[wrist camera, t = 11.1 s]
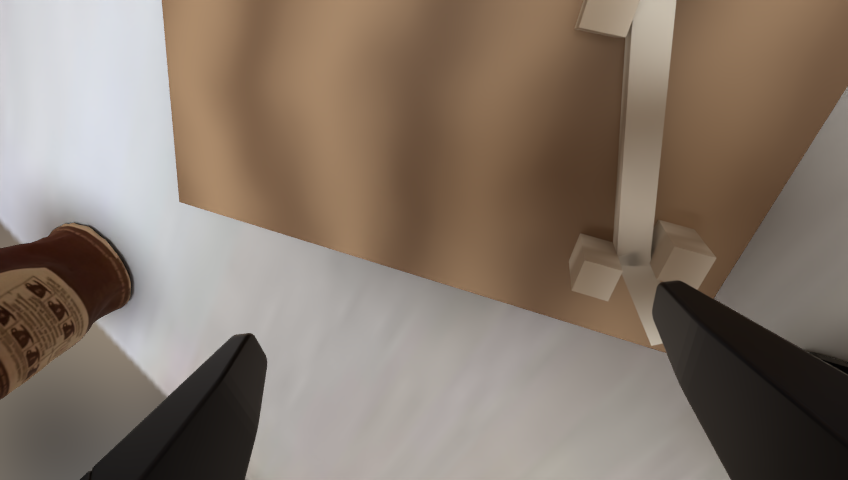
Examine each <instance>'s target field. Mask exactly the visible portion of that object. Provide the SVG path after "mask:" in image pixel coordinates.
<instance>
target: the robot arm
mask: <svg viewBox="0 0 848 480" xmlns="http://www.w3.org/2000/svg"><path fill="white" fill-rule="evenodd" d="M652 317H653V320H654V323H655V325H656V328H657V330H658V333H659V335H660V338H661V340H662V343H663V345H664V348H665V350H666V353H667V355H668V358H669V360H670V363H671V365H672V367H673V370H674V372H675V375H676V377H677V379H678V382H679V384H680V386H681V388H682V390H683V392H684V394H685V396H686V398H687V400H688V401H689V403H690V405H691V407H692V409H693V411H694V412H695V414H696V416H697V418H698V420H699V422H700V423H701V425H702V427H703V429H704V431H705V433H706V435H707V436H708V438H709V440H710V442H711V444H712V446H713V447H714V449H715V451H716V453H717V455H718V457H719V458H720V460H721V462H722V464H723V466H724V468H725V469H726V471H727V473H728V475H729V477H730V479H731V480H848V363H847V362H844V361H841V360H837V359H834V358H831V357H827V356H824V355H820V354H817V353H811V352H810V353H808V352H807V351H805V350H803V349H801V348H800V347H798V346H796V345H794V344H792V343H791V342H789V341H787V340H785V339H784V338H782V337H780V336H778V335H777V334H775V333H773V332H771V331H769V330H768V329H766V328H764V327H762V326H761V325H759V324H757V323H755V322H753V321H752V320H750V319H748V318H746V317H745V316H743V315H741V314H739V313H738V312H736V311H734V310H732V309H730V308H729V307H727V306H725V305H723V304H722V303H720V302H718V301H716V300H715V299H713V298H711V297H709V296H707V295H706V294H704V293H702V292H700V291H699V290H697V289H695V288H693V287H692V286H690V285H688V284H686V283H684V282H682V281H680V280H674V281H666V282H661V283H659V284H658V285H657V288H656V293H655V297H654V302H653V307H652ZM266 370H267V358H266V355H265V353H264V352H263V350H262V348H261V346H260V345H259V343H258V341H257V339H256V338H255V336H254V335H253V334H251V333H246V334H238V335H234V336H232V337H231V338H230V339H229V340H228V341H227V342H226V343H225V344H223V345H222V346H221V347H220V348H219V349H218V350H217V351H216V352H215V353H214V354H213V355H212V356H211V357H210V358H209V359H208V360H206V361H205V362H204V363H203V364H202V365H201V366H200V367H199V368H198V369H197V370H196V371H195V372H194V373H193V374H192V375H191V376H189V377H188V378H187V379H186V380H185V381H184V382H183V383H182V384H181V385H180V386H179V387H178V388H177V389H176V390H175V391H174V392H172V393H171V394H170V395H169V396H168V397H167V398H166V399H165V400H164V401H163V402H162V403H161V404H160V405H159V406H158V407H157V408H155V409H154V410H153V411H152V412H151V413H150V414H149V415H148V416H147V417H146V418H145V419H144V420H143V421H142V422H141V423H140V424H139V425H138V426H136V427H135V428H134V429H133V430H132V431H131V432H130V433H129V434H128V435H127V436H126V437H125V438H124V439H123V440H122V441H120V442H119V443H118V444H117V445H116V446H115V447H114V448H113V449H112V450H111V451H110V452H109V453H108V454H107V455H106V456H104V457H103V458H102V459H101V460H100V461H99V462H98V463H97V464H96V465H95V466H94V467H93V469H92V471H88V472H87V473H86V474H85V475H84V476H83V477H82V478H81V479H80V480H245V476H246V472H247V469H248V465H249V461H250V457H251V453H252V449H253V445H254V441H255V437H256V433H257V429H258V423H259V417H260V411H261V404H262V397H263V390H264V383H265V377H266Z"/></svg>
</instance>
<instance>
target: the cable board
mask: <svg viewBox="0 0 848 480" xmlns="http://www.w3.org/2000/svg"><path fill="white" fill-rule="evenodd" d="M162 8H163V19H164V31H165V42H166V54H167V65H168V76H169V88H170V99H171V111H172V122H173V133H174V145H175V156H176V168H177V179H178V191H179V202H182V203H185V204H188V205H191V206H194V207H198V208H201V209H204V210H207V211H211V212H214V213H217V214H220V215H223V216H227V217H230V218H233V219H236V220H240V221H243V222H246V223H249V224H252V225H256V226H259V227H262V228H265V229H269V230H272V231H275V232H278V233H281V234H285V235H288V236H291V237H294V238H298V239H301V240H304V241H307V242H310V243H314V244H317V245H320V246H323V247H327V248H330V249H333V250H336V251H340V252H343V253H346V254H349V255H352V256H356V257H359V258H362V259H365V260H369V261H372V262H375V263H378V264H381V265H385V266H388V267H391V268H394V269H398V270H401V271H404V272H407V273H410V274H414V275H417V276H420V277H423V278H427V279H430V280H433V281H436V282H439V283H443V284H446V285H449V286H452V287H456V288H459V289H462V290H465V291H468V292H472V293H475V294H478V295H481V296H485V297H488V298H491V299H494V300H497V301H501V302H504V303H507V304H510V305H514V306H517V307H520V308H523V309H526V310H530V311H533V312H536V313H539V314H543V315H546V316H549V317H552V318H556V319H559V320H562V321H565V322H568V323H572V324H575V325H578V326H581V327H585V328H588V329H591V330H594V331H597V332H601V333H604V334H607V335H610V336H614V337H617V338H620V339H623V340H626V341H630V342H633V343H636V344H639V345H643V346H646V347H649V348H652V349H655V350H659V351H662V352H665V353H666V350H665V348H664V345H663V343H662V340H661V338H660V335H659V333H658V330H657V328H656V325H655V323H654V320H653V317H652V307H653V302H654V297H655V293H656V288H657V285H658V284H659V283H661V282H666V281H674V280H680V281H682V282H684V283H686V284H688V285H690V286H692V287H693V288H695V289H697V290H699V291H700V292H702V293H704V294H706V295H707V296H709V297H711V298H713V299H714V297H715V295H716V294H717V292H718V291H719V289H720V287H721V286H722V284H723V283H724V281H725V279H726V278H727V276H728V275H729V273H730V272H731V270H732V268H733V267H734V265H735V264H736V262H737V260H738V259H739V257H740V256H741V254H742V253H743V251H744V249H745V248H746V246H747V245H748V243H749V241H750V240H751V238H752V237H753V235H754V233H755V232H756V230H757V229H758V227H759V226H760V224H761V222H762V221H763V219H764V218H765V216H766V214H767V213H768V211H769V210H770V208H771V206H772V205H773V203H774V202H775V200H776V199H777V197H778V195H779V194H780V192H781V191H782V189H783V187H784V186H785V184H786V183H787V181H788V180H789V178H790V176H791V175H792V173H793V172H794V170H795V168H796V167H797V165H798V164H799V162H800V160H801V159H802V157H803V156H804V154H805V153H806V151H807V149H808V148H809V146H810V145H811V143H812V141H813V140H814V138H815V137H816V135H817V134H818V132H819V130H820V129H821V127H822V126H823V124H824V122H825V121H826V119H827V118H828V116H829V114H830V113H831V111H832V110H833V108H834V107H835V105H836V103H837V102H838V100H839V99H840V97H841V95H842V94H843V92H844V91H845V89H846V87H847V86H848V0H162Z"/></svg>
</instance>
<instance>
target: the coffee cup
mask: <svg viewBox="0 0 848 480" xmlns="http://www.w3.org/2000/svg"><path fill="white" fill-rule="evenodd" d="M130 294H131V282H130V278H129V275H128V273H127V271H126V268H125V266H124V264H123V263H122V261H121V259H120V258H119V256H118V255H117V254H116V252H115V251H114V250H113V249H112V247H111V246H110V245H109V243H108V242H107V241H106V240H105V239H103V238H102V237H101V236H99V235H98V234H97V233H96V232H95V231H94V230H93V229H91V228H90V227H88V226H83V225H78V224H76V223H71V224H63V225H62V226H60V227H57V228H56V229H54V230H53V231H52V232H51V234H50V235H49V236H48V237H45V238H42V239H40V240H37V241H35V242H32V243H26V244H19V245H15V246H10V247H5V248H0V399H2V398H4V397H5V396H6V395H8V394H9V393H10V392H12V391H13V390H14V389H16V388H17V387H19V386H20V385H22V384H23V383H25V382H26V381H27V380H28V379H30V378H31V377H32V376H34V375H35V374H36V373H38V372H39V371H40V370H42V369H43V368H44V367H45V366H46V365H48V364H49V363H50V362H51V361H52V360H54V359H55V358H56V357H58V356H59V355H61V354H62V353H64V352H65V351H67V350H68V349H70V348H71V347H72V346H73V345H75V344H76V343H77V342H78V341H80V340H81V339H82V338H83V337H84V336H85V334H86V333H87V332H88V331H89V329H90V327H91V326H92V324H93V323H94V322H95V321H97V320H98V319H99V318H101V317H103V316H104V315H107V314H109V313H111V312H113V311H115V310H117V309H120V308H122V307H123V306H124V305H125V304H126V303H127V302H128V301H129V298H130Z"/></svg>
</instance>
